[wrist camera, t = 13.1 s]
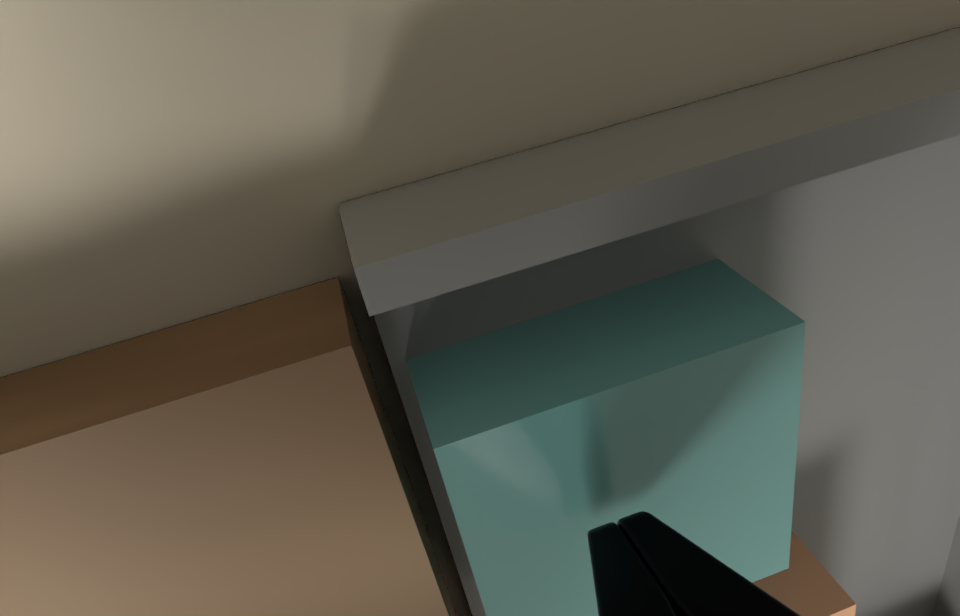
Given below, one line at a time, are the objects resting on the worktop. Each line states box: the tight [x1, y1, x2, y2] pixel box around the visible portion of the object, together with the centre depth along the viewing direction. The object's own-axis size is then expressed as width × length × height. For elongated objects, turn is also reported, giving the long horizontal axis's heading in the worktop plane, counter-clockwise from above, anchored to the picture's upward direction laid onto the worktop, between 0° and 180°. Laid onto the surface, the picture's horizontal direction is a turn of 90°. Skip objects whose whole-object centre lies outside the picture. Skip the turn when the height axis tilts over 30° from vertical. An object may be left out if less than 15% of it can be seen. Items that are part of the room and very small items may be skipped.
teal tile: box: [405, 259, 806, 616], centre depth 10 cm, size 5×5×2 cm
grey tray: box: [338, 27, 960, 616], centre depth 13 cm, size 16×12×2 cm
